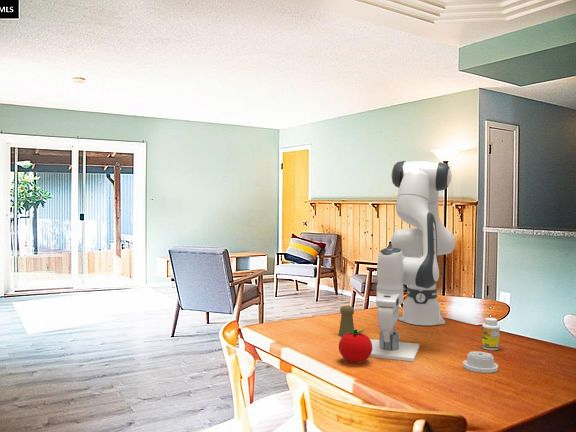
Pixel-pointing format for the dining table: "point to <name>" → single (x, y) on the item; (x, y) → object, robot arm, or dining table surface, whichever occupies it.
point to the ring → (390, 345)
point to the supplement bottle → (490, 334)
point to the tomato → (355, 346)
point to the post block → (403, 353)
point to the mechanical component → (480, 362)
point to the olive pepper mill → (346, 320)
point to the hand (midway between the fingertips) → (389, 338)
